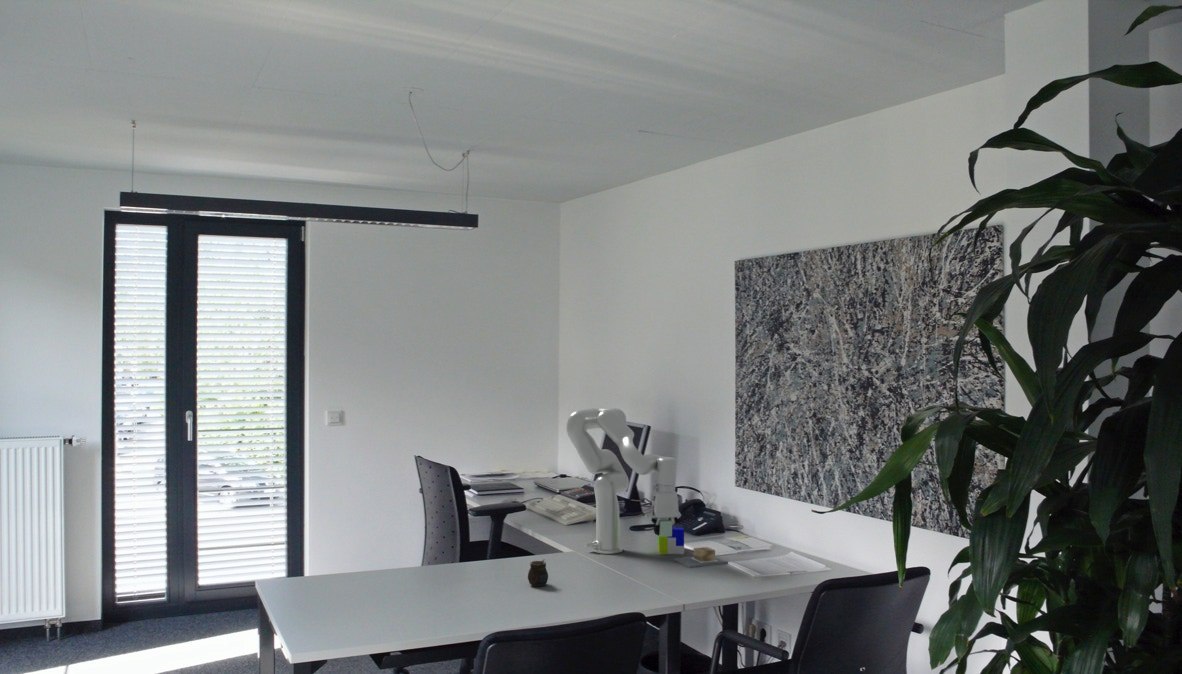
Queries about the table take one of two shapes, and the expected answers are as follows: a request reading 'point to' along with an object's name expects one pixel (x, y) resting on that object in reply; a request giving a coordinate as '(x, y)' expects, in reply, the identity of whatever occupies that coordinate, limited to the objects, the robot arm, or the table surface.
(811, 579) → the table surface
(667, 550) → the puzzle toy
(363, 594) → the table surface
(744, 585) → the table surface
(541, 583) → the mate gourd
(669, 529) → the sage block
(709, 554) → the oak base block
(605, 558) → the table surface
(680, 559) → the felt mat
